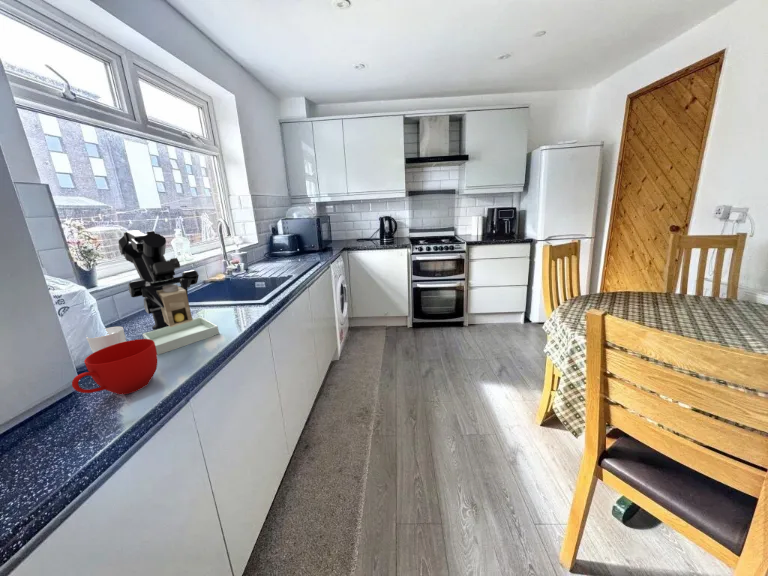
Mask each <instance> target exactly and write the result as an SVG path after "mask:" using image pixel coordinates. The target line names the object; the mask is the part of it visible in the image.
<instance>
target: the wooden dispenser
mask: <svg viewBox="0 0 768 576" xmlns="http://www.w3.org/2000/svg"><path fill="white" fill-rule="evenodd" d="M180 286H181V285H180ZM180 286H179V285H178V283H175V284H170V285H165V286H163V290H158V291H157V294H158V296H159V297H160V299H161V301H162V302H163V305H164V308H162V307H161V310H162V314H163V317H164V321H165V323H167V324H168V325H169V326H170V327H174V326H177V325H181V324H184V323H187V322H191V321H193V320H192V319H193V315H192V313H191V307H190V302H189V297H188V298H187V294H186V290H185V289H183V288H181V287H180ZM177 313H182V314H183V315H184V320H183V321H181V322H176V321H175V320H174V318H173V317H174V315H175V314H177Z"/></svg>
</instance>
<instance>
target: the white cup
mask: <svg viewBox="0 0 768 576" xmlns="http://www.w3.org/2000/svg"><path fill="white" fill-rule="evenodd" d="M104 329H106V331H107V332H108V333H107V334H109V335H106V336H101V337H95V338H88V337H86V336H85V338H86V340H87V343H88V345H89V347H90V349H91V352H92V354H93V353H94V352H96V351H99V350H101V349H103V348H106V347H108V346H111V345H115V344H118V343H122V342H126V341H127V337H126V333H125V330H124V327H123V326H111V327H106V328H104Z"/></svg>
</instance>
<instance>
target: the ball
mask: <svg viewBox="0 0 768 576" xmlns="http://www.w3.org/2000/svg"><path fill="white" fill-rule="evenodd" d="M173 318H174V320H175V321H176V322H181V321H183V320H184V315H183V314H182V313H177V314H175V315H174V317H173Z"/></svg>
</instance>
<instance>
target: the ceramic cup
mask: <svg viewBox="0 0 768 576" xmlns="http://www.w3.org/2000/svg"><path fill="white" fill-rule="evenodd" d="M84 364H85V368H86V369H87V371H86V372H82V373H80V374H78V375H76V376H74V378H73V379H72V381H71V386H72V388H73V389H74V390H75V391H77V392H78V393H81V394H90V393H98V392H101V391H104V390H106V391H108V392H110V393H114V394H116V395H129V394H132V393H134V392H137V391H139V390H142V389H143V388H145V387H146V386H148V385H149V383H150V381H151V380H152V379H153V377H154V375H155V372H156V370H157V368H158V355H157V352H156V346H155V343H154V341H153V340H150V339H144V338H140V339H139V338H138V339H132V340H126V342H122V343H118V344H115V345H111V346H108V347H106V348H103V349H101V350H99V351H96V352H94V353H93V352H92V353H90V354H89V355H88V356H87V357H86V358H85V359H84ZM86 376H89V377H91V378H92V380H93V381H94V382H95V384H97V385H98V386H99V387H95V388H89V389H85V388H82V387H80V385H79V381H80V380H81V379H82V378H85V377H86Z"/></svg>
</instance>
